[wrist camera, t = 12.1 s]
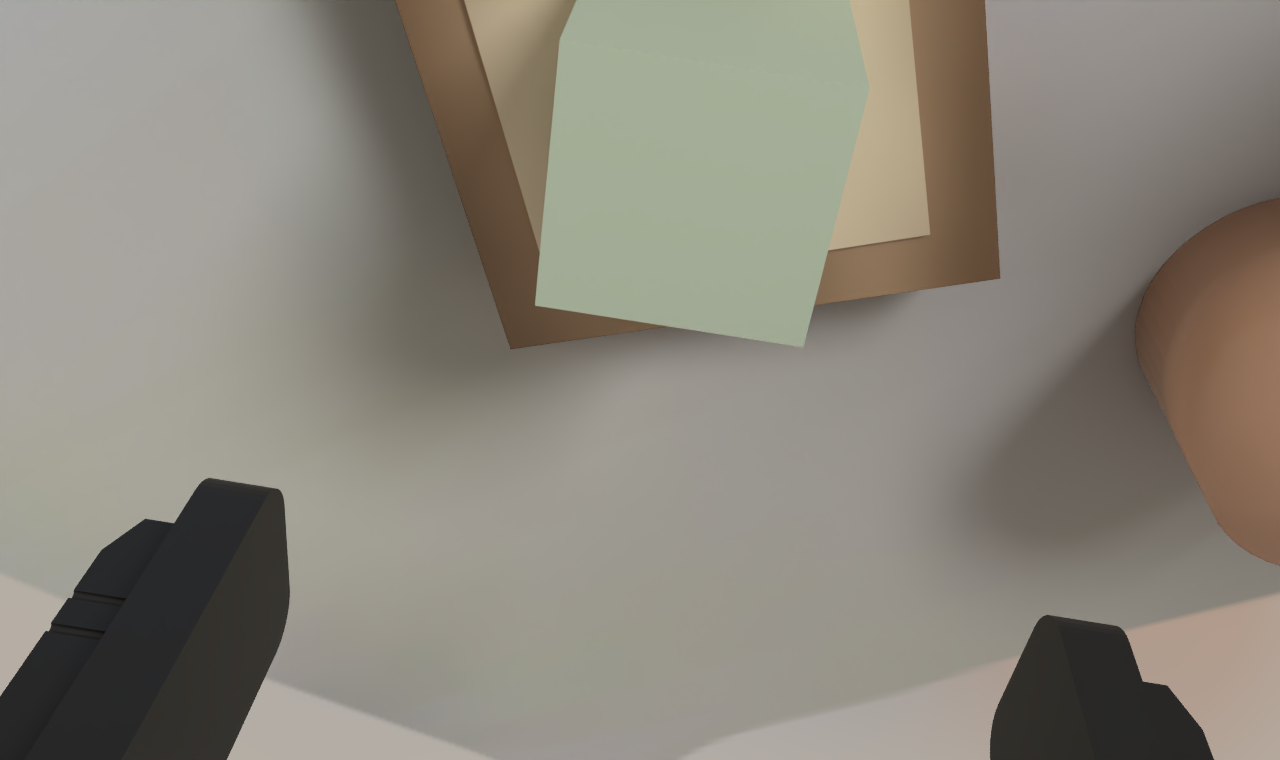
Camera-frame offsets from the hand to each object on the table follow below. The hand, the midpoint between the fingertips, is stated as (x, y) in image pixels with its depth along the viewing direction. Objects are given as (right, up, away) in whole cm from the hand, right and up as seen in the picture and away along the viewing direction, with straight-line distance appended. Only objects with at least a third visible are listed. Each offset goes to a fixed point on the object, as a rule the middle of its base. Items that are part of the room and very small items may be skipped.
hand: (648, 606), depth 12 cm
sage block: (+1, +9, +13) cm, 15 cm away
